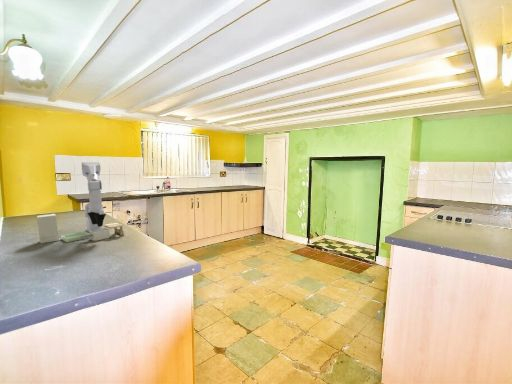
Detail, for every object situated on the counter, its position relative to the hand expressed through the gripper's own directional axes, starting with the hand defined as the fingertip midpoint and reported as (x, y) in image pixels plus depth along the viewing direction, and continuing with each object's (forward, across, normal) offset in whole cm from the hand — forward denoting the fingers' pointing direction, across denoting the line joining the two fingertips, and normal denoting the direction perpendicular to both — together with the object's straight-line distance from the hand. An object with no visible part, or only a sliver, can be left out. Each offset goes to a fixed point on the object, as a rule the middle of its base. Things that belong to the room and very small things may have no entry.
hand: (97, 225), depth 149 cm
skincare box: (+8, -16, -19) cm, 26 cm away
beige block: (+8, 0, +8) cm, 11 cm away
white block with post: (+8, 0, -2) cm, 8 cm away
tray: (+8, -10, -8) cm, 15 cm away
